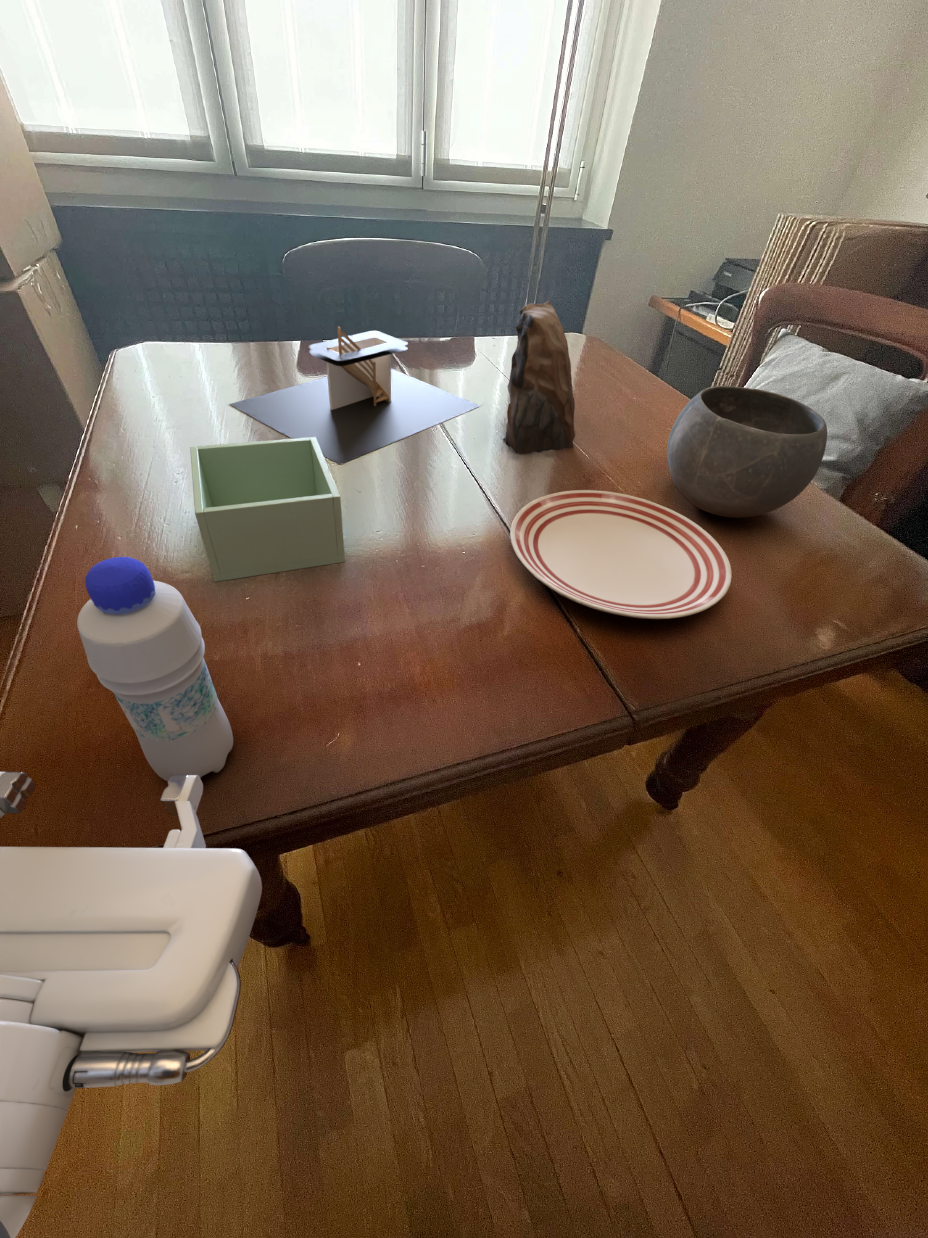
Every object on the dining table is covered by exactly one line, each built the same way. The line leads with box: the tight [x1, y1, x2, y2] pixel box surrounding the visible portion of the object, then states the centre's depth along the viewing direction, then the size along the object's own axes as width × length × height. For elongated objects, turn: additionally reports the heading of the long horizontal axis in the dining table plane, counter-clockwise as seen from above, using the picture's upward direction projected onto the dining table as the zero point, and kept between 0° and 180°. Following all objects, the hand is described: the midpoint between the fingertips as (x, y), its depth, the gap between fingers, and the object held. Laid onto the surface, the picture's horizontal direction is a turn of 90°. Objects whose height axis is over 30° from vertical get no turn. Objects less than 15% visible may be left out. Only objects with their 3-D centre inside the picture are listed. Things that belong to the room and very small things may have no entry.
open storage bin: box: [189, 437, 346, 583], centre depth 65 cm, size 15×15×9 cm
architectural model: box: [229, 326, 481, 465], centre depth 94 cm, size 35×28×14 cm
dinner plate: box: [509, 489, 732, 620], centre depth 69 cm, size 27×27×3 cm
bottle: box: [76, 556, 234, 782], centre depth 38 cm, size 7×7×20 cm
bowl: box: [666, 385, 828, 519], centre depth 79 cm, size 20×20×15 cm
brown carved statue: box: [502, 300, 576, 455], centre depth 89 cm, size 13×13×20 cm
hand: (104, 778), depth 32 cm, fingers open, 8 cm apart
